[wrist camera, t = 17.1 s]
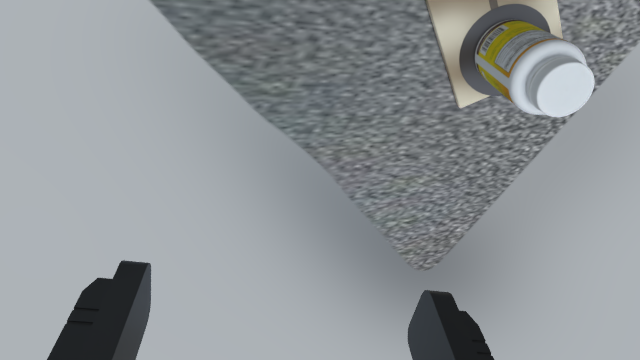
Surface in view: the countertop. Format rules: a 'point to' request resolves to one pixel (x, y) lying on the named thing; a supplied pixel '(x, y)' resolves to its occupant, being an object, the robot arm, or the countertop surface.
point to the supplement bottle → (534, 68)
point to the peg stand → (480, 36)
